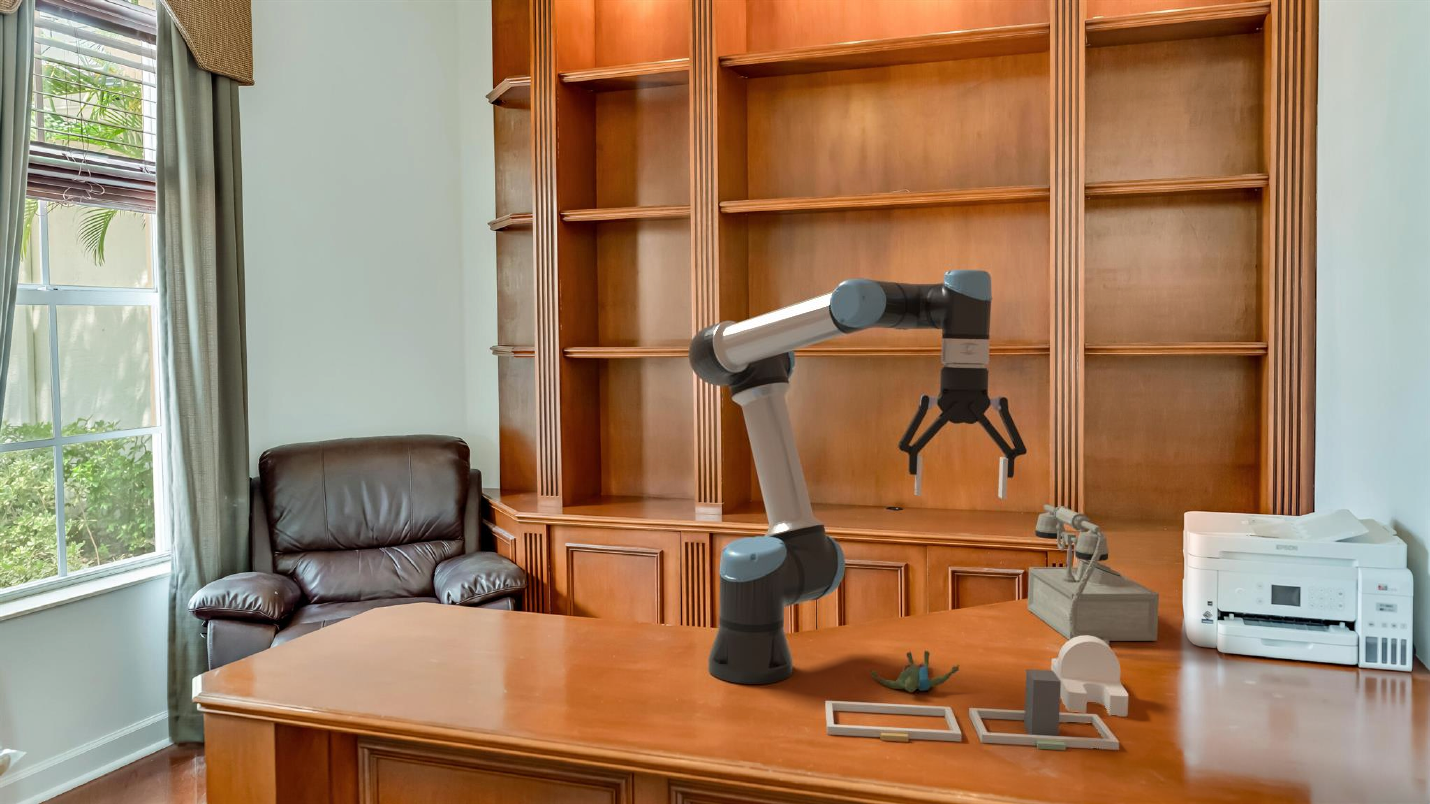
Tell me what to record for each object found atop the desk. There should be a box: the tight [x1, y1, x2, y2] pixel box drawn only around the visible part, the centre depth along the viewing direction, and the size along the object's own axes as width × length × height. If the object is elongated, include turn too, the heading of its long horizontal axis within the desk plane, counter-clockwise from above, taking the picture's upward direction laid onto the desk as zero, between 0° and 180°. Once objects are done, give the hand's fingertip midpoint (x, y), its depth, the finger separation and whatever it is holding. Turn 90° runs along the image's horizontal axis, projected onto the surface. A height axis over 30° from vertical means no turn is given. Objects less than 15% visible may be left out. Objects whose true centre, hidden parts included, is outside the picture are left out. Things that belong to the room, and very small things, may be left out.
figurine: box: [869, 650, 960, 693], centre depth 176 cm, size 16×4×18 cm
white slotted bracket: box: [1050, 635, 1129, 717], centre depth 171 cm, size 10×18×10 cm, turn 170°
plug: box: [1023, 668, 1061, 736], centre depth 155 cm, size 4×6×9 cm
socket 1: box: [824, 700, 962, 742], centre depth 156 cm, size 20×12×1 cm, turn 85°
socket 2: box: [968, 707, 1120, 751], centre depth 154 cm, size 20×12×1 cm, turn 85°
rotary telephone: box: [1027, 503, 1160, 646], centre depth 211 cm, size 32×20×25 cm, turn 3°
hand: (959, 496), depth 163 cm, fingers open, 13 cm apart
